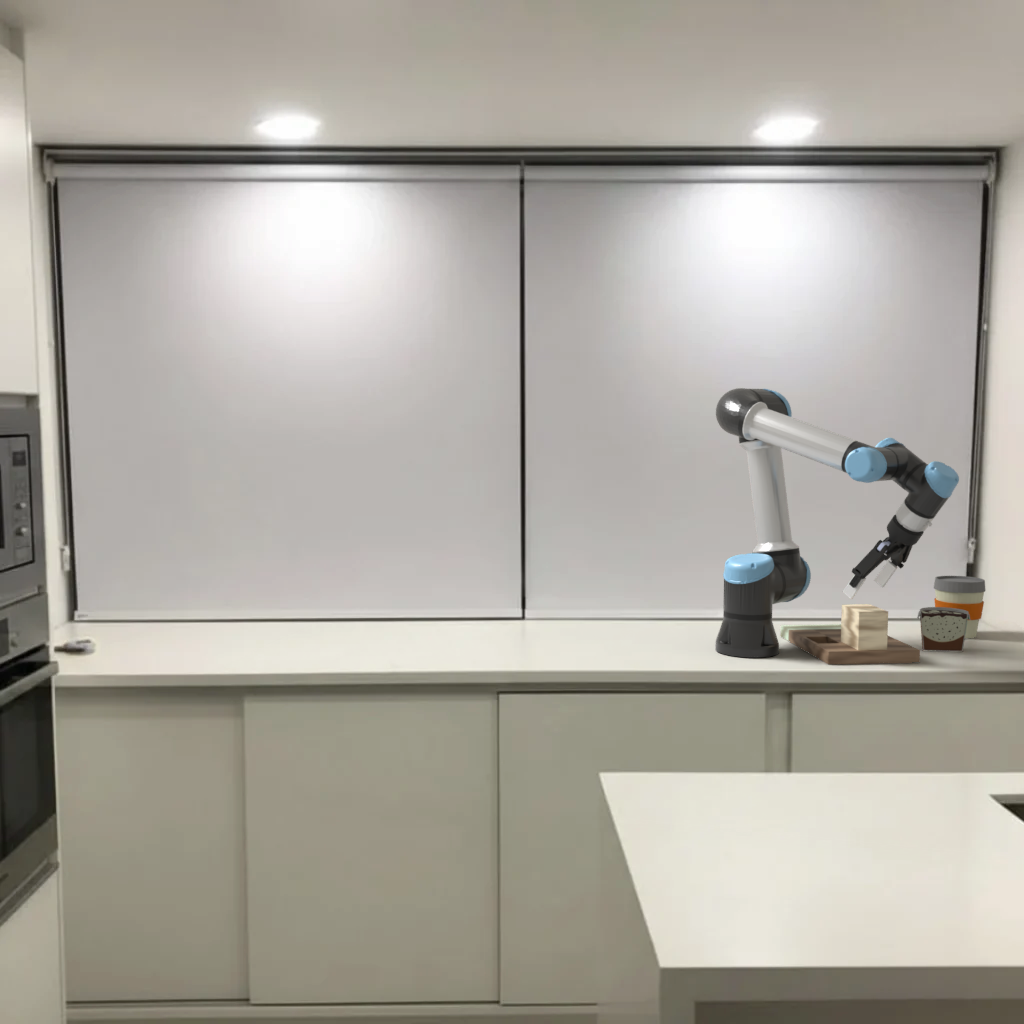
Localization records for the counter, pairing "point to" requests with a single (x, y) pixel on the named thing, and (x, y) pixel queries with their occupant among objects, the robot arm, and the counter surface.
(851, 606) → the block
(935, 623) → the food container
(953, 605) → the reusable coffee cup
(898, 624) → the counter surface
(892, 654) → the board
